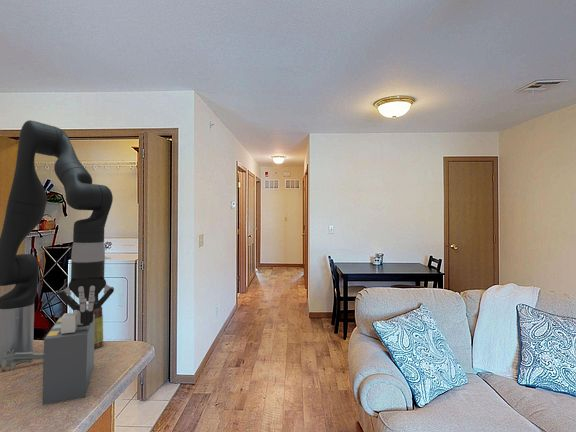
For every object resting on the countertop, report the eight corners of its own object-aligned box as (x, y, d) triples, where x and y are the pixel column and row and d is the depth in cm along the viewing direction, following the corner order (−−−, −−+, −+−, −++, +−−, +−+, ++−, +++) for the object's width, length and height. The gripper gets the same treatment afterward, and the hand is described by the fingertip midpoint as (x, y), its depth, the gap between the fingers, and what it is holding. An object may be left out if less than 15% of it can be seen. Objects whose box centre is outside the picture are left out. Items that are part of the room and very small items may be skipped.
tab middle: (73, 325, 88) (73, 310, 89) (75, 321, 92) (76, 307, 92) (86, 324, 90) (86, 309, 90) (88, 320, 93) (88, 306, 93)
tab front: (60, 333, 82) (61, 317, 82) (63, 328, 86) (64, 313, 86) (74, 332, 84) (75, 316, 84) (77, 327, 87) (77, 312, 87)
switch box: (42, 405, 79) (44, 338, 80) (58, 371, 97) (59, 316, 97) (85, 397, 83) (87, 333, 83) (93, 366, 100) (95, 313, 101)
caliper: (1, 373, 96) (1, 351, 96) (1, 371, 96) (2, 350, 96) (83, 356, 108) (84, 337, 108) (83, 355, 109) (83, 336, 109)
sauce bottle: (102, 342, 120) (104, 287, 120) (103, 348, 114) (104, 291, 115) (81, 345, 116) (83, 289, 117) (81, 351, 111) (82, 292, 111)
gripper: (117, 256, 93) (115, 318, 93) (61, 258, 87) (59, 323, 87) (116, 260, 86) (114, 326, 86) (55, 262, 80) (53, 332, 80)
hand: (86, 324), depth 87 cm, fingers closed
